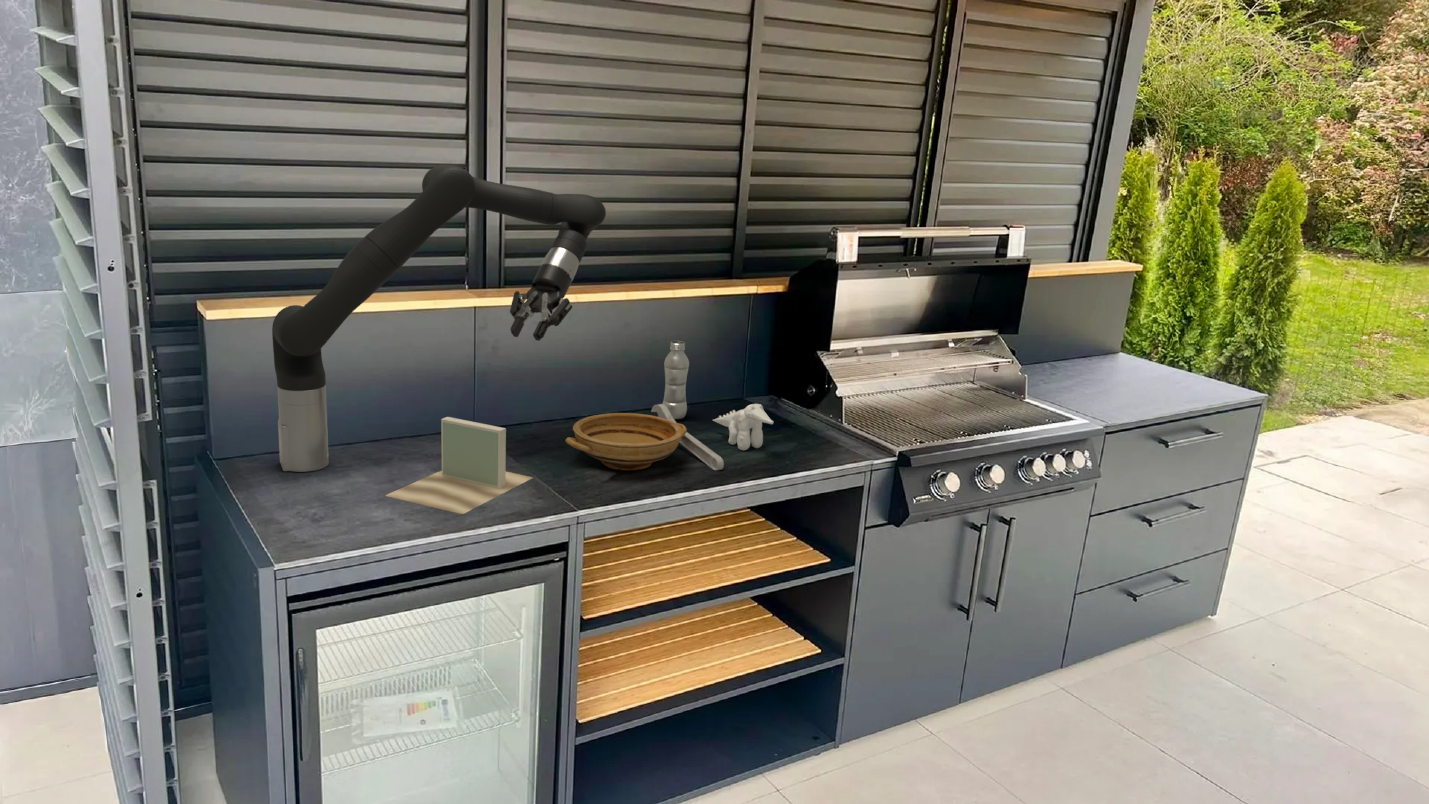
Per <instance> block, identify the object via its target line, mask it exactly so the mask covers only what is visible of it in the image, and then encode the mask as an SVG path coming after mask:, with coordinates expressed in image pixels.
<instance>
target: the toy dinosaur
mask: <svg viewBox="0 0 1429 804" xmlns="http://www.w3.org/2000/svg"><path fill="white" fill-rule="evenodd" d="M712 421H713V422H715V423H717V424H719V425H722V426H724V427H726V428H728V431H729V438H728V443H729V444H730V445H732V446H734V445H736V444H737V449H739V450H740V451H746V450H748V449H749V448H750V446H751V448H752V447H753V448H754V449H760V448H761V447H762V446H763V441H764V434H763V430H762V428H763V423H764V424H769V425H773V424H774V420H772V418H770V417H769V415H768V414H767V413H766V411H765V410H764V407H763V405H762V404H759V403H752V404H749V405H747V406H746V407H745V408H743V409H740V410H737V411H736V410H735V409H733V410H731V411H729V413H726V414H723V415H718V417H717V418H715V419H712Z"/></svg>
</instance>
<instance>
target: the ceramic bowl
mask: <svg viewBox="0 0 1429 804" xmlns="http://www.w3.org/2000/svg"><path fill="white" fill-rule="evenodd" d="M572 430H573V433H574V437H570V436H569V437H567V438H566V439H565V443H566V444H567V445H569V446H571V447H572V448H574V449H577V450H579V451H583V452H584V453H585V454H586V455H587V456H590V457H592V458H593V459H596V460H599V461H601V463H602V464H603V466H606V467H607V466H608V467H607V468H610V469H614V470H618V469H620V471H639V470H644V469H647V468H649V467H651V466H652V464H653V463H655V462H657V461H661V460H664V459H665V458H668V457H669V456H671V455H672V454H673V453H674V452H675V450H676V449H677V447H678V446H679V444H680V443H679V442H680V438H682V437H683V436H684V435H685V434H686V432H687V431H688V429H687V427H686V425H684V424H682V423H678V422H676V423H674V422H672V421H670V420H667V419H664V418H660V417H659V416H656V415H650V414H643V413H634V412H633V413H632V412H614V413H613V412H612V413H611V412H610V413H601V414H595V415H590V416H586V417H583V418H581V419H579V420H578V421H576V422H574V424H573V425H572ZM687 433H688V432H687ZM638 469H639V470H638Z"/></svg>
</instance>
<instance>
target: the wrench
mask: <svg viewBox="0 0 1429 804" xmlns="http://www.w3.org/2000/svg"><path fill="white" fill-rule="evenodd" d="M650 412H651V413H657V417H660V418H664V419H667V420H670V421H672V422H674V423H677V421H676V419H673V417H672V415H671V414H670V412H669V410H668V408H667V407H666V406H665V405H664V404H663V403H658V404H654V405H653V406H652V407H651V411H650ZM679 444H680V445H681V446H683V447H684V448H685V449H686V450H687V451H689V452H690V453H691V454H693V456H695V457H697V458H698V459H699V460H700V461H702V462H703V464H705V465H707V467H709V468H710V469H712V470H714V471H720V470H721V471H722V470H723V469H724V467H725V463H724V459H723V458H722V457H721V455H719V454H717V453H716V452H715V451H714V450H712V449H710V448H709V447H708V446H707V445H705V444H703V443H702V441H700V440H699V439H697V438H695V437H694V436H693V435H691V434H690V433H689V432H686V434H685V435H684V436H683V437H682V438H680V442H679Z"/></svg>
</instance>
